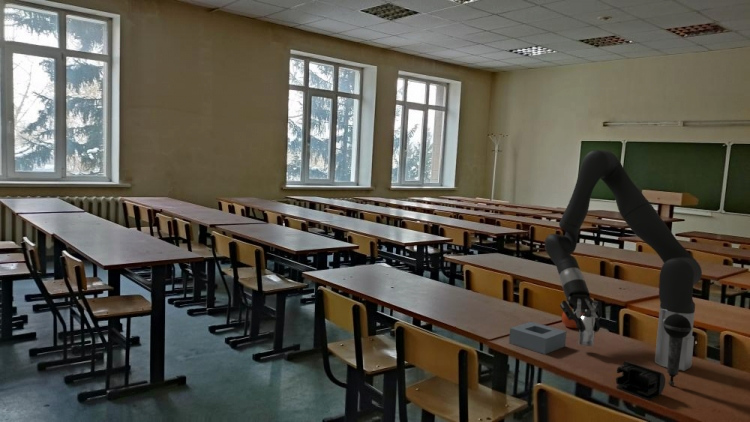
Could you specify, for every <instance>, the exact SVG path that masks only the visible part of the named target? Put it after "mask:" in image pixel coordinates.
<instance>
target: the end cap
mask: <svg viewBox="0 0 750 422" xmlns="http://www.w3.org/2000/svg"><path fill="white" fill-rule="evenodd" d="M620 373H622V374H621V375H620V376H617V377H616V378H615V383H616V390H619V391H621V392H625V393H627V394H629V395H632V396H635V397H638V398H640V399H643V400H645V401H652V400H654V399H656V398H658V397H659V396H660V395H661V394H663V391H664V389H665V385H666V376H665V374H664V373H662V372H660V371H657V370H656V369H655V370H654V369H652V368H649V367H645V366H642V365H639V364H637V363H634V362H630V361H628V360H625V361H623V365H620V366H618V367H617V369H616V374H620Z"/></svg>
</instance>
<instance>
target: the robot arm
mask: <svg viewBox="0 0 750 422" xmlns="http://www.w3.org/2000/svg"><path fill="white" fill-rule="evenodd" d="M581 163H582V164H581V165H580V169H579V173H578V175H577V176H578V177H577V179H576V183H575V186H574V189H573V192H572V195H571V197H570V199H569V201H568V205H567V206H566V208H565V210H564V212H563V214H562V217H561V219H560V220H559V228H560V229H561V230H563V231H564V232H565V234H564V235H562V234H557V233H551V234H549V235H548V236H546V238H545V240H544V249H545V252H546V253H547V255H548V256H549V258H550V260H551V261H552V262H553V264H554V265H555V266H556V270H557V273H558V275H559V279H560V284H561V287H562V290H563V293H564V296H565V299H566V300H562V301H561V303H560V304H559V307H560V309H562V312H564V313H565V315H566V316H567V318H568V319H569V320H571V319H572V320H574V321H575V322H576V325H577V328H576V329H577V330H578V331H579V330H580V332H583V331H584V330H585V327H584V324H583V321H582V319H580V312H582V314H585V309H589V310H592V313H591V315H592V316H595V327H594V333H598V332H599V331H600V329H601V325H600V321H599V320H600V319H601V318H602V317H603V303H602V301H600V300H598V301H596V300H593V298H591V296H590V291H589V288H588V285H587V283H586V280H585V278H584V274H583V273H582V271H581V269H580V267H579V266H580V265H579V263H578V261H577V258H576V257H575V256H574V255H573V254H574V252H575V251H576V248H577V245H578V238H579V232H580V229H581V228H582V225H583V223H584V221H585V220H586V217H587V215H588V213H589V209H590V202H591V196H592V194H593V191H594V189H595V187H596V185H597V183H599V181H600V180H601V181H603V183H604V184H605V186H606V187H608V189H609V190H610V192H611V193H612V194H613V197H614V199H615V202H616V206H617V210H618V212H619V214H620V216H621V218H622V219H623V220H624V222H625V224H626V225H627V226H628V228H629V229H630V230H631V231H632V232H633V233H634V234H635V235H636V236H637V237H638V238H639V239H640V240H642V242H643V243H645V244H647V245H648V246H649V247H651V249H652V250H654V252H655V253H656V254H657V255H658V256H659V258H660V260H661V261H662V262H663V264H662V265H661V269H660V274H659V283H658V288H659V289H658V299H659V304H660V305H659V313H658V323H657V324H658V325H657V333H656V342H655V343H656V345H655V353H654V362H655V363H656V364H657V365H658V366H660V367H664V368H667V367H668V351H669V335H668V334H667V333H666V331H665V329H664V326H663V323H664V321H665V319H666V318H667V317H668V316H670V315H673V314H679V315H682V316H684V317H686V318H687V319H688V320H689V322H690V324H691V328H692V329H691V331H690V333H689V334H688V335H687V336H686V337H684V338H683V341H682V348H681V355H680V362H679V369H678V371H682V372H685V371H686V370H689V369H690V368H691V367H692V361H693V354H694V353H693V352H694V342H695V336H694V335H693V330H694V321H695V320H694V319H695V313H696V312H695V311H696V304H695V302H694V299H693V291H694V285H696V284H698V283H699V281H700V280H701V278H702V275H703V274H702V273H703V272H702V267H701V265H700V263H699V262H698V261H697V260H696V258H694V257H693V255H691V254H690V252H689V251H688V250H687V249H686V248H685V247H684V246H683V245H682V244H681V243H680V242H679V241H678V238H676V237H675V235H674V234H673V232H672V230H670V228H669V226H667V224H666V223H665V221H664V220H663V219H662V217H661V216H660V215H659V213H658V212H657V210H656V209H655V208H654V206H653V205H652V204H651V202H649V200H648V199H647V198H646V196H645V195H644V194H643V192H641V190H640V188H638V187H637V185H636V184H635V183H634V182H633V180H632V179H631V178H630V176H629V175H628V173H627V172H626V170H625V168H624V166H623V165H622V163H621V161H620V160H619V158H618V157H617V156H616V155H615V154H614V153H613V152H611V151H608V150H604V149H603V150H600V149H595V150H591V151H589V152H587V154H585V156H584V157H583V159H582V162H581ZM572 309H573V311H572Z"/></svg>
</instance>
